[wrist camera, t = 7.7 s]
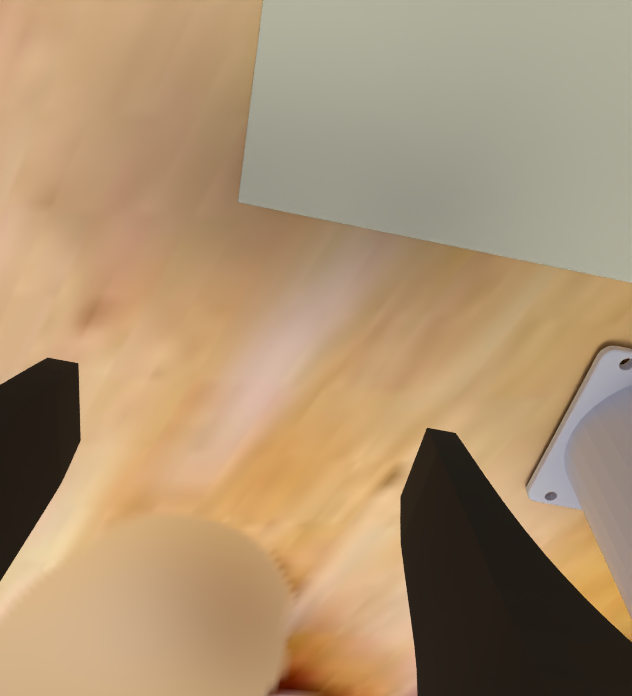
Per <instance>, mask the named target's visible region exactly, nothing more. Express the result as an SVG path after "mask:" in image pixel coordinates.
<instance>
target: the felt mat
mask: <svg viewBox="0 0 632 696" xmlns="http://www.w3.org/2000/svg"><path fill="white" fill-rule="evenodd" d="M238 202H239V203H244V204H249V205H254V206H259V207H263V208H268V209H273V210H278V211H283V212H288V213H293V214H298V215H303V216H307V217H312V218H317V219H322V220H327V221H332V222H337V223H342V224H347V225H352V226H356V227H361V228H366V229H371V230H376V231H381V232H386V233H391V234H396V235H400V236H405V237H410V238H415V239H420V240H425V241H430V242H435V243H440V244H444V245H449V246H454V247H459V248H464V249H469V250H474V251H479V252H484V253H488V254H493V255H498V256H503V257H508V258H513V259H518V260H523V261H528V262H532V263H537V264H542V265H547V266H552V267H557V268H562V269H567V270H572V271H577V272H581V273H586V274H591V275H596V276H601V277H606V278H611V279H616V280H621V281H625V282H630V283H632V0H263V6H262V14H261V22H260V30H259V38H258V46H257V54H256V62H255V70H254V78H253V86H252V94H251V102H250V110H249V118H248V126H247V134H246V142H245V150H244V158H243V166H242V174H241V182H240V190H239V198H238Z"/></svg>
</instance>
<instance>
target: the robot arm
mask: <svg viewBox="0 0 632 696" xmlns="http://www.w3.org/2000/svg"><path fill="white" fill-rule="evenodd" d="M627 358H630V359H629V361H628V362H627V363H625V364H620V362H621V361H622V360H624V359H627ZM80 440H81V439H80V404H79V369H78V363H74V362H68V361H63V360H58V359H52V358H46V359H45V360H43V361H41V362H39V363H37V364H35V365H34V366H32V367H30V368H28V369H27V370H25V371H23V372H21V373H20V374H18V375H16V376H15V377H13V378H11V379H9V380H8V381H6V382H4V383H3V384H1V385H0V581H1V579H2V578H3V576H4V574H5V573H6V571H7V570H8V568H9V566H10V565H11V563H12V562H13V560H14V559H15V557H16V555H17V554H18V552H19V551H20V549H21V547H22V546H23V544H24V543H25V541H26V539H27V538H28V536H29V535H30V533H31V531H32V530H33V528H34V527H35V525H36V523H37V522H38V520H39V519H40V517H41V515H42V514H43V512H44V511H45V509H46V507H47V506H48V504H49V502H50V501H51V499H52V498H53V496H54V494H55V493H56V491H57V489H58V488H59V486H60V484H61V483H62V480H63V478H64V476H65V474H66V472H67V470H68V468H69V465H70V463H71V461H72V459H73V456H74V454H75V452H76V450H77V447H78V445H79V443H80ZM526 492H527V494H528V497H529V498H530V499H531V500H532V501H535V502H541V503H547V504H552V505H558V506H563V507H569V508H575V509H580V510H583V512H584V514H585V517H586V519H587V521H588V523H589V525H590V528H591V530H592V532H593V534H594V537H595V539H596V541H597V543H598V545H599V548H600V550H601V552H602V554H603V556H604V559H605V561H606V563H607V565H608V568H609V570H610V572H611V574H612V576H613V579H614V581H615V583H616V585H617V587H618V590H619V592H620V594H621V596H622V599H623V601H624V603H625V605H626V607H627V610H628V612H629V614H630V616H631V618H632V349H630V348H625V347H620V346H608V347H605V348H604V349H602V350H601V351H600V352H599V353H598V355H597V356H596V358H595V360H594V362H593V364H592V366H591V368H590V369H589V371H588V373H587V375H586V377H585V379H584V381H583V382H582V384H581V386H580V388H579V390H578V392H577V394H576V396H575V397H574V399H573V401H572V403H571V405H570V407H569V409H568V410H567V412H566V414H565V416H564V418H563V420H562V422H561V423H560V425H559V427H558V429H557V431H556V433H555V435H554V437H553V438H552V440H551V442H550V444H549V446H548V448H547V450H546V451H545V453H544V455H543V457H542V459H541V461H540V463H539V464H538V466H537V468H536V470H535V472H534V474H533V476H532V478H531V479H530V481H529V483H528V485H527V487H526ZM549 492H552V493H550V494H547V493H549ZM400 524H401V548H402V556H403V564H404V572H405V579H406V587H407V594H408V601H409V609H410V616H411V624H412V631H413V638H414V646H415V656H416V667H417V690H418V696H632V642H631V641H630V640H629V639H627V638H626V637H625V636H624V635H623V634H622V633H621V632H620V631H619V630H618V629H617V628H616V627H615V626H613V625H612V624H611V623H610V622H609V621H608V620H607V619H606V618H605V617H604V616H603V615H602V614H601V613H600V612H599V611H598V610H597V609H596V608H595V607H594V606H593V605H592V604H591V603H590V602H589V601H587V599H586V598H585V597H584V596H583V595H582V594H581V593H580V592H579V591H578V590H577V589H576V588H575V587H574V586H573V585H572V584H571V583H570V582H569V580H568V579H567V578H566V577H565V576H564V575H563V574H562V573H561V572H560V571H559V570H558V569H557V568H556V566H555V565H554V564H553V563H552V562H551V561H550V560H549V559H548V557H547V556H546V555H545V554H544V553H543V552H542V550H541V549H540V548H539V547H538V545H537V544H536V543H535V542H534V541H533V539H532V538H531V537H530V536H529V534H528V533H527V532H526V531H525V530H524V528H523V527H522V526H521V524H520V523H519V522H518V521H517V519H516V518H515V517H514V515H513V514H512V513H511V511H510V510H509V509H508V507H507V506H506V505H505V503H504V502H503V501H502V499H501V498H500V496H499V495H498V494H497V492H496V491H495V489H494V488H493V487H492V485H491V484H490V482H489V481H488V480H487V478H486V477H485V475H484V474H483V472H482V471H481V469H480V468H479V466H478V465H477V464H476V462H475V461H474V459H473V458H472V456H471V455H470V453H469V452H468V450H467V449H466V447H465V446H464V444H463V443H462V442H461V440H460V439H459V437H458V436H457V434H456V433H452V432H447V431H442V430H436V429H431V428H427V429H426V432H425V434H424V437H423V440H422V442H421V445H420V448H419V450H418V453H417V455H416V458H415V461H414V463H413V466H412V468H411V471H410V474H409V476H408V479H407V482H406V484H405V487H404V489H403V492H402V495H401V516H400Z"/></svg>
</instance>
